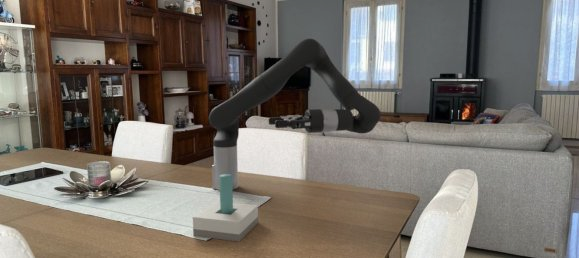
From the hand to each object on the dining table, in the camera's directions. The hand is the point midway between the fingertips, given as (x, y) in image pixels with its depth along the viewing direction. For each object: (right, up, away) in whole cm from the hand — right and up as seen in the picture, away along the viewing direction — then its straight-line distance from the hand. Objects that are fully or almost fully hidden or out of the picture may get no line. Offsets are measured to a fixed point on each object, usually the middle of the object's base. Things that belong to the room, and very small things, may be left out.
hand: (272, 122), depth 120 cm
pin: (-13, -29, -7) cm, 33 cm away
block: (-13, -31, -6) cm, 34 cm away
